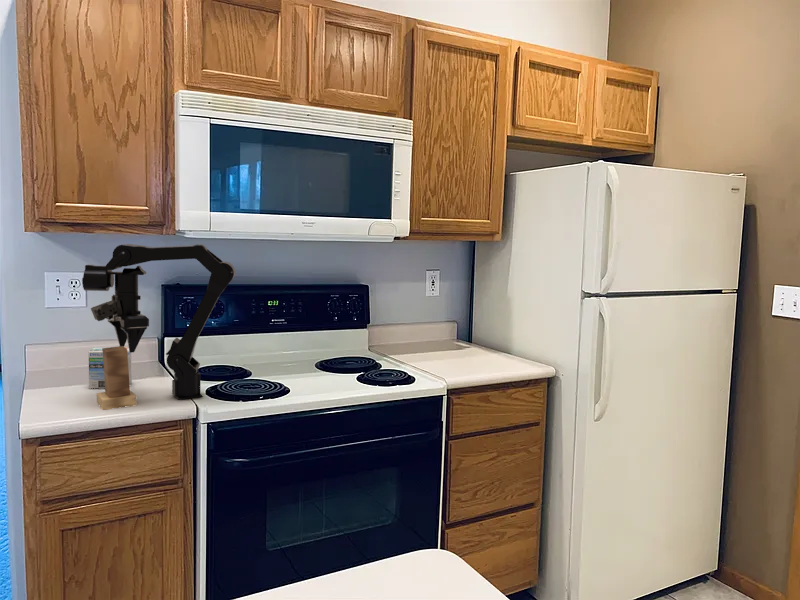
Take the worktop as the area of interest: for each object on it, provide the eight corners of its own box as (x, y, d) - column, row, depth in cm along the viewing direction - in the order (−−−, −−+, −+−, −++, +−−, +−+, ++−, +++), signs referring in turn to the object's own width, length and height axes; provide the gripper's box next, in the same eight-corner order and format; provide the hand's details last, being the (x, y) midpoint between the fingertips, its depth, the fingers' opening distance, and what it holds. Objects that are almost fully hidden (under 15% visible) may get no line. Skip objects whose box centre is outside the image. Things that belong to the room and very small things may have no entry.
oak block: (129, 400, 173) (128, 389, 172) (136, 407, 166) (136, 395, 166) (96, 404, 168) (96, 392, 168) (103, 411, 162) (102, 400, 161)
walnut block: (125, 390, 170) (122, 346, 169) (130, 394, 166) (127, 349, 165) (105, 393, 168) (102, 348, 166) (109, 397, 164) (106, 351, 162)
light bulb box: (88, 389, 181) (87, 351, 180) (92, 383, 187) (92, 347, 186) (129, 388, 184) (128, 350, 182) (132, 382, 190) (131, 346, 189)
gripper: (85, 288, 173) (85, 346, 174) (103, 296, 158) (103, 358, 160) (128, 287, 180) (128, 342, 181) (149, 294, 165) (149, 354, 167)
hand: (126, 349), depth 172 cm, fingers open, 9 cm apart
